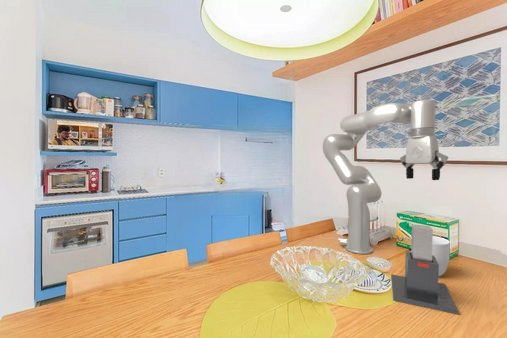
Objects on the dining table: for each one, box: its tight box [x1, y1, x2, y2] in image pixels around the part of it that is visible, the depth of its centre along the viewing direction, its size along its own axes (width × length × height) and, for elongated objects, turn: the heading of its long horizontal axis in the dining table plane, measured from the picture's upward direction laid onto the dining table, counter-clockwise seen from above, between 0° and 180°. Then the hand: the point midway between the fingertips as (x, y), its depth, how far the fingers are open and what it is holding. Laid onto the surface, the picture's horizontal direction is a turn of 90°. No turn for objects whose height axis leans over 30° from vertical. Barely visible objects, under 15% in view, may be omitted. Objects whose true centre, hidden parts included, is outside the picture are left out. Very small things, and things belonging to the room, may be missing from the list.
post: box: [410, 223, 434, 262], centre depth 81 cm, size 5×5×20 cm
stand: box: [390, 251, 459, 315], centre depth 82 cm, size 16×16×12 cm
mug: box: [432, 235, 451, 278], centre depth 96 cm, size 15×11×13 cm
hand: (422, 179), depth 96 cm, fingers open, 9 cm apart
